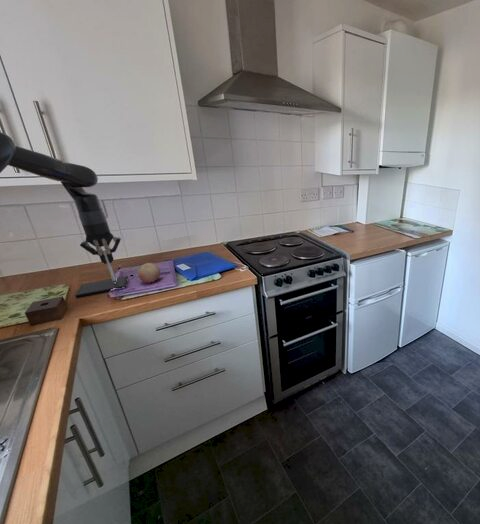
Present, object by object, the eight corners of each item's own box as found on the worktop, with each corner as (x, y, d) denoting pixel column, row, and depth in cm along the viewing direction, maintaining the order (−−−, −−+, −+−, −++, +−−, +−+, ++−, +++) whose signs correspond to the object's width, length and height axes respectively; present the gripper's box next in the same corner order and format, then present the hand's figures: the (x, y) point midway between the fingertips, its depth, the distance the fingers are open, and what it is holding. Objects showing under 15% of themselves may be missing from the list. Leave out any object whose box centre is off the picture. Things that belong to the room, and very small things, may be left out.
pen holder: (30, 325, 100) (24, 312, 98) (38, 313, 106) (32, 301, 104) (62, 318, 103) (56, 306, 101) (68, 308, 110) (62, 296, 108)
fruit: (136, 283, 128) (131, 266, 125) (155, 275, 134) (150, 259, 131) (148, 287, 124) (142, 269, 121) (166, 279, 131) (161, 262, 128)
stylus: (113, 282, 125) (102, 251, 119) (113, 281, 125) (102, 250, 120) (116, 282, 125) (105, 251, 120) (117, 281, 126) (106, 250, 121)
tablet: (76, 298, 116) (75, 295, 116) (82, 286, 125) (81, 284, 124) (126, 288, 123) (125, 285, 123) (128, 278, 132) (127, 275, 132)
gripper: (68, 226, 109) (85, 269, 116) (114, 221, 115) (127, 262, 122) (73, 221, 115) (89, 262, 122) (116, 216, 121) (129, 256, 128)
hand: (108, 262), depth 122 cm, fingers closed on stylus, 1 cm apart
